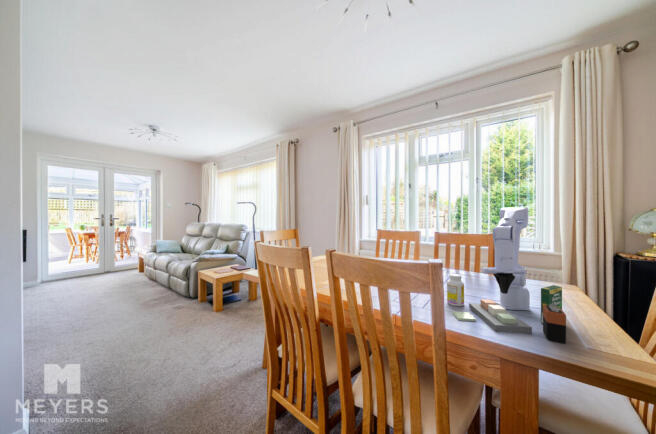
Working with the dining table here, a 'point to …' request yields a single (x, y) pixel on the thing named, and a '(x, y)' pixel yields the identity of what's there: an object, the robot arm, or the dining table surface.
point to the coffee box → (551, 297)
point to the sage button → (506, 318)
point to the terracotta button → (487, 303)
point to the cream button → (496, 310)
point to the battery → (554, 323)
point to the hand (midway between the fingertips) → (503, 292)
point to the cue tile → (464, 316)
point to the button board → (496, 324)
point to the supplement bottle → (455, 290)
